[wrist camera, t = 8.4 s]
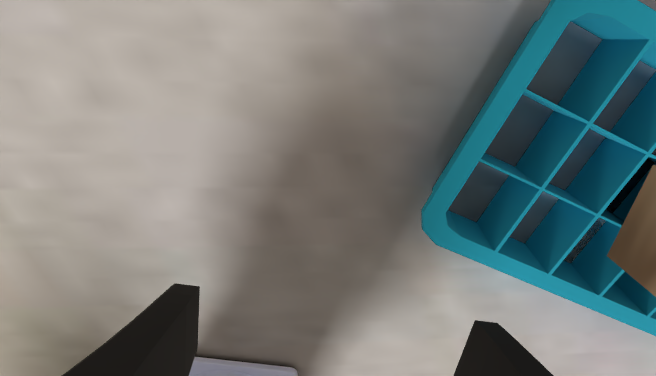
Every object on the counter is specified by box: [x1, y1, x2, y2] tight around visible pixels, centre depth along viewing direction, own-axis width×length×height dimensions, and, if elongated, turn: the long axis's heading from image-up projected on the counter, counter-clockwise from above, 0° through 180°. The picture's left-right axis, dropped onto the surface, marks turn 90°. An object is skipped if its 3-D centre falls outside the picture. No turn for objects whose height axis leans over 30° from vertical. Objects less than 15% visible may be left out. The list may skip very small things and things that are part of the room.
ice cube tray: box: [421, 0, 656, 336], centre depth 19 cm, size 12×20×3 cm, turn 65°
